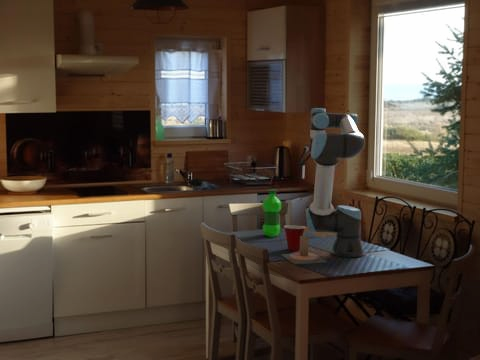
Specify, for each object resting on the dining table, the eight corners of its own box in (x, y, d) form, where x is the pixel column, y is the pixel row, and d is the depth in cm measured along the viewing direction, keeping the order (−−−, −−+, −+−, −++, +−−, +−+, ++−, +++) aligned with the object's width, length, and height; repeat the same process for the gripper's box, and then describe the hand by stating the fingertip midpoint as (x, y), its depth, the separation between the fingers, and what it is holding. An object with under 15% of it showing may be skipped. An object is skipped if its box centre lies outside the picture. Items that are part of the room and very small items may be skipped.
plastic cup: (304, 247, 390) (305, 224, 389) (304, 252, 380) (305, 228, 378) (283, 246, 391) (284, 223, 390) (282, 251, 381) (283, 227, 379)
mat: (327, 262, 360) (327, 261, 360) (295, 264, 355) (295, 263, 355) (311, 253, 377) (311, 252, 377) (281, 255, 372) (281, 254, 372)
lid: (323, 258, 366) (323, 237, 365) (305, 262, 357) (306, 240, 355) (301, 253, 375) (302, 232, 373) (284, 257, 366) (285, 236, 364)
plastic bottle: (258, 234, 420) (260, 188, 416) (277, 233, 423) (278, 188, 420) (265, 238, 410) (266, 191, 407) (283, 237, 413) (284, 191, 410)
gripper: (342, 138, 400) (341, 179, 403) (294, 136, 406) (293, 176, 409) (341, 139, 393) (339, 181, 396) (292, 137, 399) (291, 178, 402)
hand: (316, 179), depth 402 cm, fingers open, 13 cm apart
